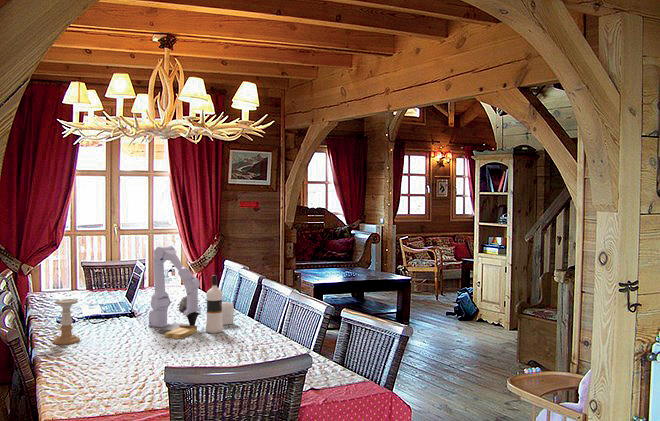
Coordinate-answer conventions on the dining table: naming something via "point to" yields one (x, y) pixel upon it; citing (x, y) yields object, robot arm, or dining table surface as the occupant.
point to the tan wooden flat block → (181, 331)
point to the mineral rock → (183, 304)
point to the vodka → (214, 308)
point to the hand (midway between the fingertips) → (192, 326)
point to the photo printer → (227, 313)
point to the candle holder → (66, 323)
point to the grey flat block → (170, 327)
